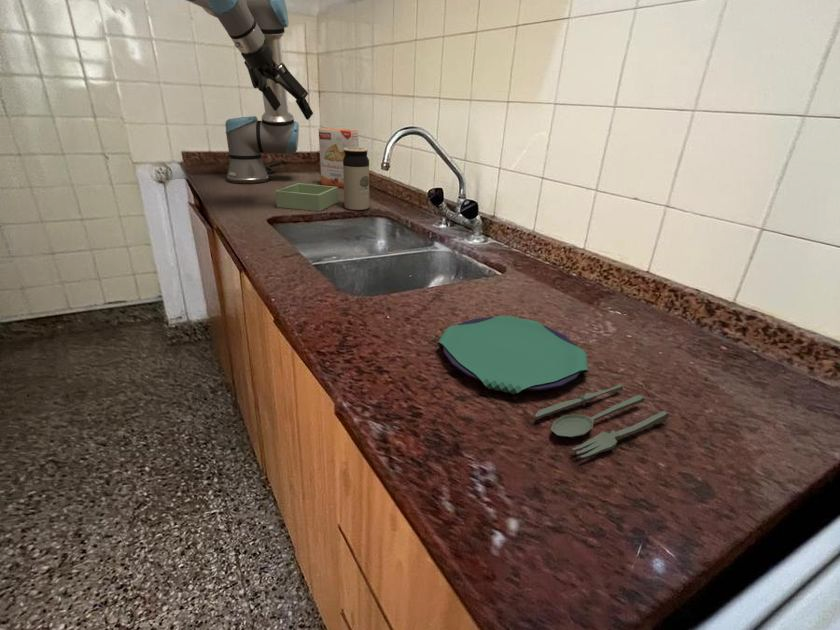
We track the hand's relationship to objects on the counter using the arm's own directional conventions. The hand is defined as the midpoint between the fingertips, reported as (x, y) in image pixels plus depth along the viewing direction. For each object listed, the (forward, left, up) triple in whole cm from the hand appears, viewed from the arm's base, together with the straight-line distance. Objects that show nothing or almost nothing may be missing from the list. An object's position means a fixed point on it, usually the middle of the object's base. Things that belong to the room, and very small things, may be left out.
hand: (293, 111), depth 135 cm
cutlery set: (+81, +76, -28) cm, 114 cm away
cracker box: (-33, 0, -28) cm, 43 cm away
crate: (0, +3, -27) cm, 28 cm away
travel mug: (-2, +19, -28) cm, 33 cm away
